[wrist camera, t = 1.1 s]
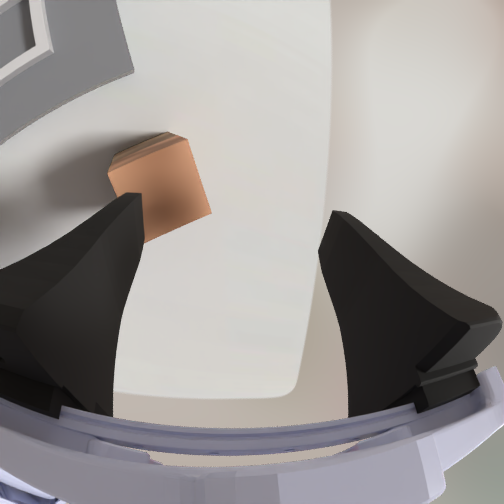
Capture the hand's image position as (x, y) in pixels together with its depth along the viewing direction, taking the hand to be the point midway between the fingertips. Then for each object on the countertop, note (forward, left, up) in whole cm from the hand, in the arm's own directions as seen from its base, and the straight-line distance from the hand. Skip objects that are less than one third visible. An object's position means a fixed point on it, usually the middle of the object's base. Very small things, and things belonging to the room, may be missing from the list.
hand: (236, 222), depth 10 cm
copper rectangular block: (-2, +1, -11) cm, 11 cm away
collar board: (-9, +15, -11) cm, 21 cm away
